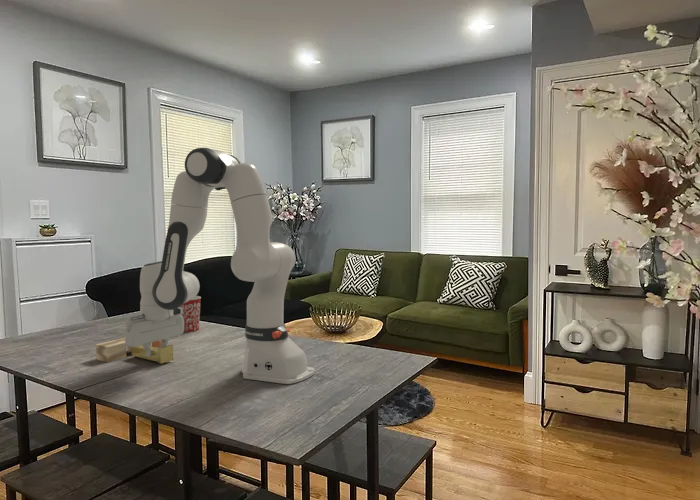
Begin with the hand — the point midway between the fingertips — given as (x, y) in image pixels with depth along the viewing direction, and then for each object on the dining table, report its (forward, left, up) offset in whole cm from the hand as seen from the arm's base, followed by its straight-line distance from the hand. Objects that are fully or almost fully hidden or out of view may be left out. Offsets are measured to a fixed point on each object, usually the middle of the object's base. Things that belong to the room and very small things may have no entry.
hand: (156, 354), depth 158 cm
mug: (+26, -36, -2) cm, 45 cm away
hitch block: (+15, +1, -2) cm, 15 cm away
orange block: (+8, -8, -2) cm, 12 cm away
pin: (+3, 0, -2) cm, 3 cm away
